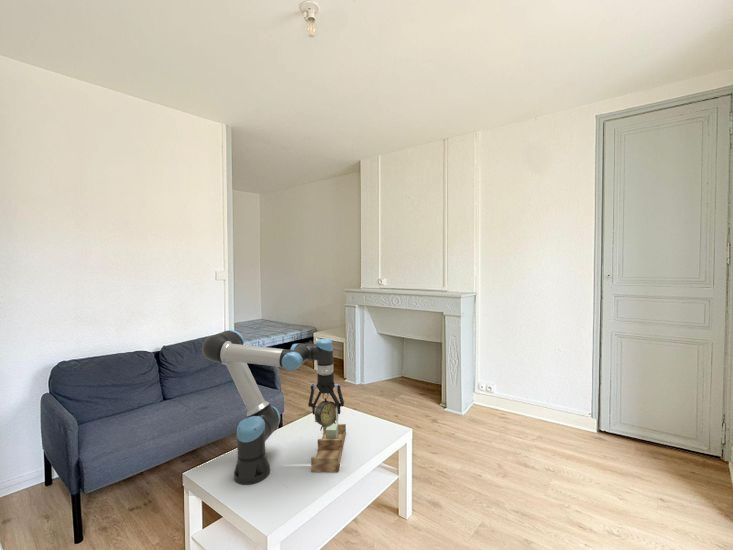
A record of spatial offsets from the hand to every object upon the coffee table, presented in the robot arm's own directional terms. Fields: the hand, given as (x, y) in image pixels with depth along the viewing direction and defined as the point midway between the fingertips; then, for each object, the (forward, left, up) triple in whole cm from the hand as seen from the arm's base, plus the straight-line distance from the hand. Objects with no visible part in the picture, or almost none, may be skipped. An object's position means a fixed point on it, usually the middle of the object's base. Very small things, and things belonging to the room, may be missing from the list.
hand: (326, 420), depth 162 cm
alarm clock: (0, 0, -3) cm, 3 cm away
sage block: (0, +16, -18) cm, 24 cm away
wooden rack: (0, +8, -19) cm, 21 cm away
